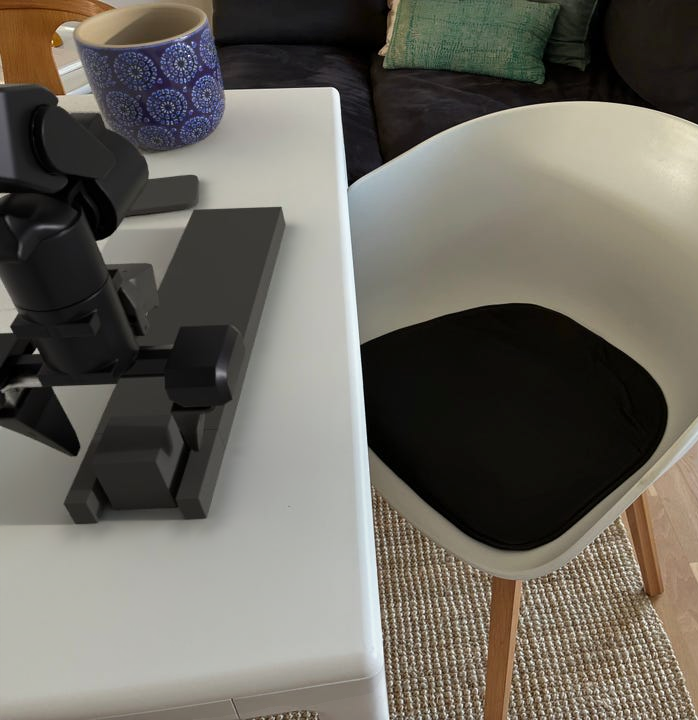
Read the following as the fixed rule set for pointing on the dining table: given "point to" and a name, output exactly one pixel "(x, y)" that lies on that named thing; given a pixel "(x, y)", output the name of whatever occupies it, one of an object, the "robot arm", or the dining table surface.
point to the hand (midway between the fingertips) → (137, 449)
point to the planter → (153, 73)
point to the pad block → (140, 461)
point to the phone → (167, 195)
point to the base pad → (195, 308)
